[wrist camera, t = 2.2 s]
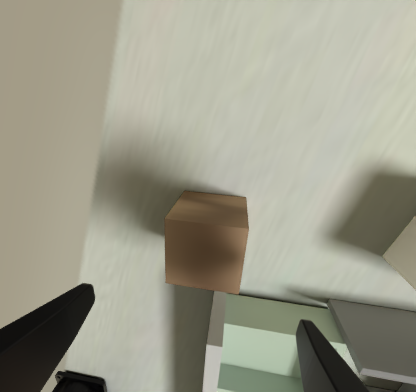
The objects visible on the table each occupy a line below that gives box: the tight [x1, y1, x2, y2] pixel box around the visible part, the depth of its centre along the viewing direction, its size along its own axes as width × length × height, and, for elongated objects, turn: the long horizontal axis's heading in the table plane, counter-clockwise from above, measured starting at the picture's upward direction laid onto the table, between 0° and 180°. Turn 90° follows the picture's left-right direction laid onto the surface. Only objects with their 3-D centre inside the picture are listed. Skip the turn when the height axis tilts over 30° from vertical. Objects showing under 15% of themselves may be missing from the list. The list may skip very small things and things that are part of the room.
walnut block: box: [164, 191, 249, 294], centre depth 14 cm, size 4×4×4 cm
